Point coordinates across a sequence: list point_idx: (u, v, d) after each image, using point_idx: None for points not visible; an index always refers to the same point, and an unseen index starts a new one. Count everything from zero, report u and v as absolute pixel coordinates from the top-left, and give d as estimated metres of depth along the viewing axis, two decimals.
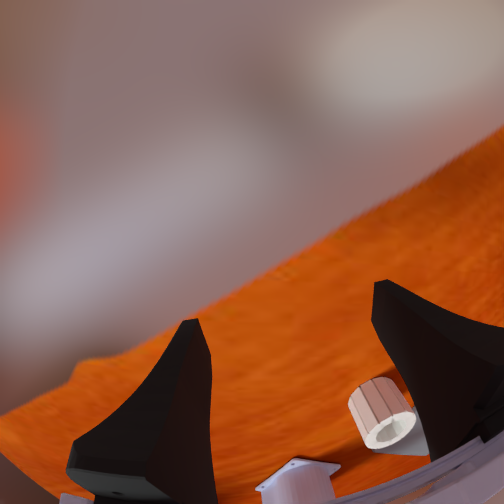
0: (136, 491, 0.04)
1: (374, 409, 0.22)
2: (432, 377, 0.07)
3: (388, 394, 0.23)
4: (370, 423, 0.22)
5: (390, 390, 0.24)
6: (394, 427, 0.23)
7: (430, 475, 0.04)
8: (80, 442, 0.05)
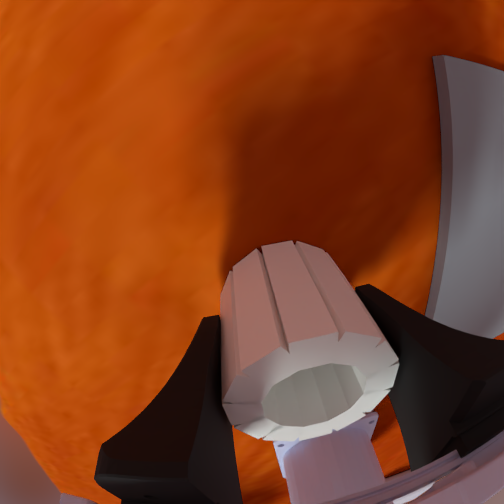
0: (172, 493, 0.04)
1: (223, 356, 0.09)
2: (410, 386, 0.07)
3: (250, 296, 0.09)
4: None
5: (260, 280, 0.10)
6: (353, 366, 0.09)
7: (430, 475, 0.04)
8: (109, 445, 0.05)
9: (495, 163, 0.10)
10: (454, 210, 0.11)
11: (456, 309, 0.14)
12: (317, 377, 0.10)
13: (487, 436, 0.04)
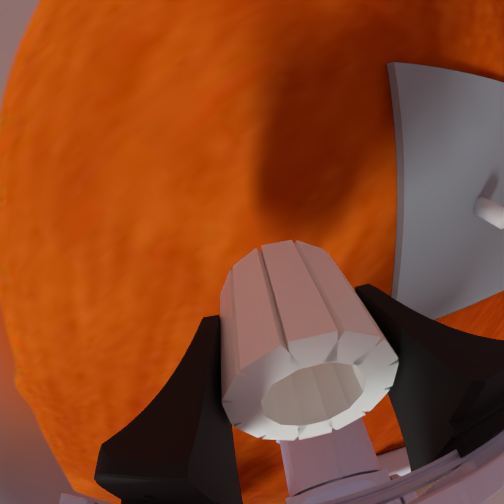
0: (172, 493, 0.04)
1: (222, 355, 0.09)
2: (410, 386, 0.07)
3: (250, 295, 0.09)
4: None
5: (260, 279, 0.10)
6: (353, 366, 0.09)
7: (430, 475, 0.04)
8: (109, 445, 0.05)
9: (446, 146, 0.14)
10: (407, 185, 0.15)
11: (421, 272, 0.17)
12: (317, 376, 0.10)
13: (487, 436, 0.04)
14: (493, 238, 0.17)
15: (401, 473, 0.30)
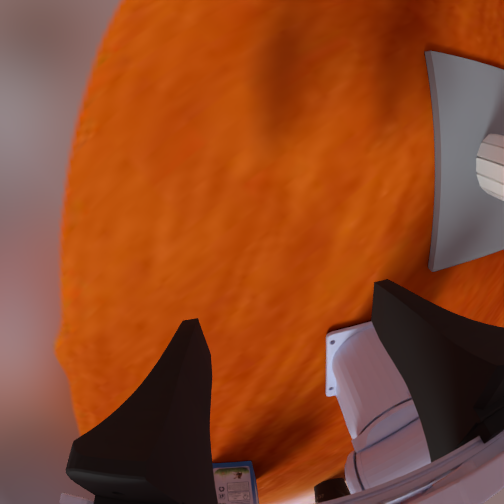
0: (136, 491, 0.04)
1: None
2: (432, 377, 0.07)
3: None
4: None
5: None
6: None
7: (430, 475, 0.04)
8: (80, 442, 0.05)
9: (467, 115, 0.16)
10: (442, 141, 0.17)
11: (454, 215, 0.20)
12: None
13: None
14: None
15: None
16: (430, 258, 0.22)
